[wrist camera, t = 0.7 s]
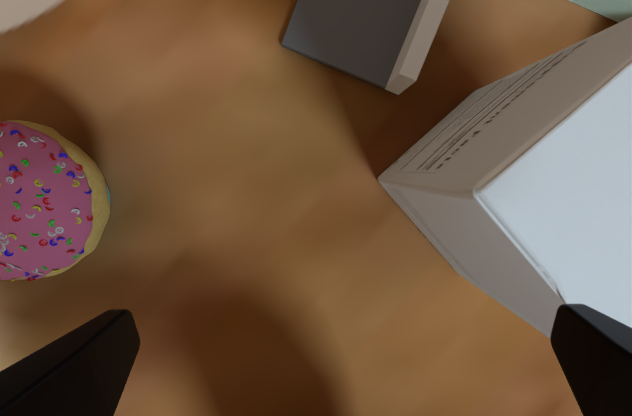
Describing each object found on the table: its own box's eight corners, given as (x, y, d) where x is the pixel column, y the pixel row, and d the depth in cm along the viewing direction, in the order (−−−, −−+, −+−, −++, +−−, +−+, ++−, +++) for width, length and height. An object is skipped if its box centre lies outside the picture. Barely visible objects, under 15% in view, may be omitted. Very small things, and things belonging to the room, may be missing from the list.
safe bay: (684, 214, 25) (755, 223, 21) (281, 46, 23) (276, 21, 19) (759, 67, 24) (849, 47, 20) (343, -120, 22) (350, -182, 18)
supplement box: (562, 189, 25) (948, 226, 10) (458, 276, 25) (672, 437, 10) (477, 84, 24) (759, -54, 9) (372, 176, 24) (469, 194, 9)
